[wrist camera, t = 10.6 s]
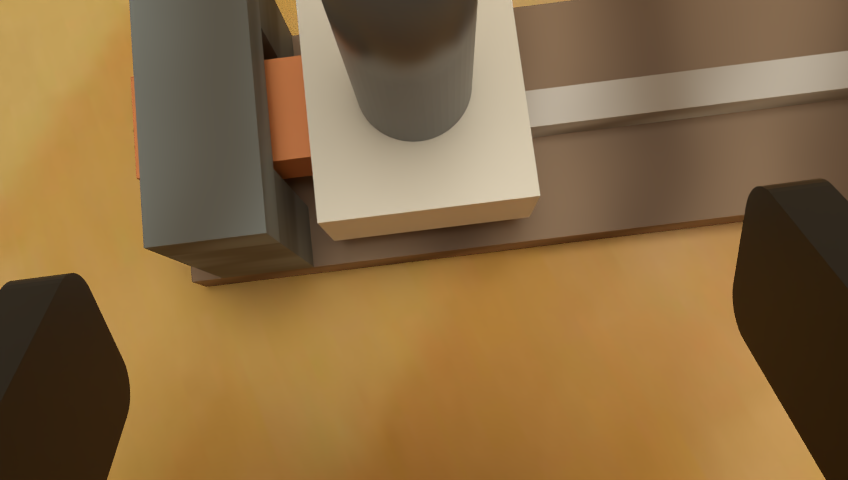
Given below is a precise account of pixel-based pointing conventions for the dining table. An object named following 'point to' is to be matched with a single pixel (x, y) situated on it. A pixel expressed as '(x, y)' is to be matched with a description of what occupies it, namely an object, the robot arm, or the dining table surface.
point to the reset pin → (278, 118)
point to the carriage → (415, 115)
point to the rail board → (549, 121)
